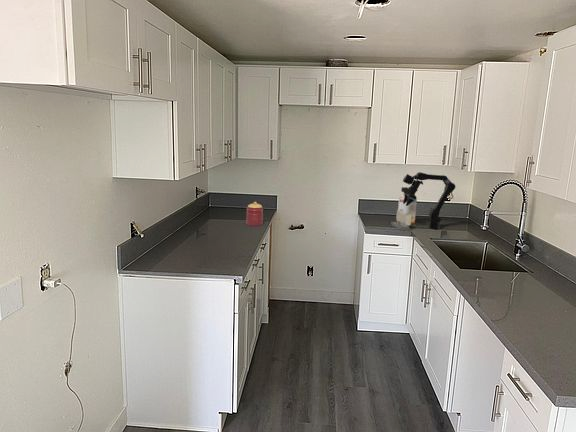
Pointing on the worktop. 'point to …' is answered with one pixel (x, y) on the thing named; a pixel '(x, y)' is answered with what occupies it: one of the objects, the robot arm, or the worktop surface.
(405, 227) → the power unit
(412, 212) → the cracker box
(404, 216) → the beige block
